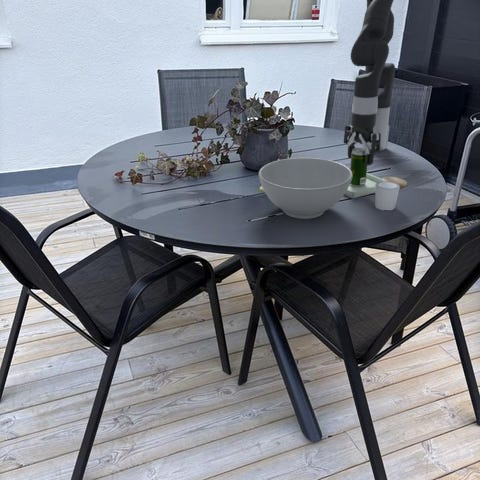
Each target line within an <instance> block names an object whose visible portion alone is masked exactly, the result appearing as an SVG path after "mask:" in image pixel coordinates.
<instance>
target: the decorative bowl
mask: <svg viewBox="0 0 480 480" xmlns="http://www.w3.org/2000/svg"><path fill="white" fill-rule="evenodd" d="M352 177H353V174H352V171H351V170H350V167H349V166H347V165H344V164H343V163H340V162H337V161H334V160H329V159H324V158H317V157H316V158H315V157H293V158H292V157H290V158H285V159H279V160H275V161H272V162H269V163H267V164H265V165H263V166H262V167H261V168H260V169H259V171H258V179H259V181H260V185H261V187H262V189H263V191H264V193H265V194H266V196H267V197H268V199H269V200H270V201H271V202H272V203H273V204H274V205H275V206H276V207H278V208H279V209H280V210H282V212H283V213H284V214H285V215H286V216H288V217H291V218H294V219H295V218H296V219H300V220H302V219H303V220H305V219H306V220H308V219H315V218H319V217H321V216H322V215H323V214H324V213H325V212H326V211H328V210H329V209H331V208H333V207H334V206H335V205H336V204H338V203H339V202H340V200H341V199H342V198H343V197H344V194H345V192H346V191H347V189H348V187H349V185H350V183H351V180H352Z"/></svg>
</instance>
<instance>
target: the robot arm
mask: <svg viewBox="0 0 480 480" xmlns="http://www.w3.org/2000/svg"><path fill="white" fill-rule="evenodd" d="M393 3H394V0H366V11H365V13H364V17H363V22H362V28H361V31H359V32H360V33H359V35H358V36H357V38H356V40H355V42H354V44H353V46H352V47H351V50H350V61H351V63H352V64H353V65H354V66H356V67H365V69H364V71H365V73H364V74H360V75H357V76H356V77H355V80H354V92H353V98H352V107H351V116H350V117H351V118H350V124H348V125H345V127H344V136H343V144H345V145H346V146H347V158H348V159H351V152H352V149H353V148H356V146H355V145H356V144H357V143H359V144H360V145H362V146H361V148H365V149H366V151H367V155H366V165H367V166H371V165H372V164H373V163H374V157H375V154H377V153H380V152H382V151H385V150H386V149H388V142H389V134H390V124H389V120H390V119H389V118H390V112H391V111H390V110H391V102H392V95H393V94H392V93H393V92H392V91H393V86H394V82H395V81H394V80H395V76H396V66H395V64H394V63H392V62H387V60H388V56H389V55H390V54H389V53H390V46H389V43H390V42H391V40H392V39H393V36H394V28H395V27H394V26H395V15H394V13H393V11H392V6H393ZM379 89H383V91H381V92H380V93H379Z"/></svg>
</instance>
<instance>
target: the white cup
mask: <svg viewBox="0 0 480 480" xmlns="http://www.w3.org/2000/svg"><path fill="white" fill-rule="evenodd" d="M400 189H401V188H400V186H399V185H398V184H397V183H394V182H388V181H383V182H378V183H376V192H375V193H374V194H375V200H374V201H375V202H374V204H375V205H374V207H375V208H376V209H377V210H380V211H384V210H390V211H393V210H395V208H396V204H397V199H398V196H399V191H400Z"/></svg>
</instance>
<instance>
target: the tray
mask: <svg viewBox="0 0 480 480" xmlns="http://www.w3.org/2000/svg"><path fill="white" fill-rule="evenodd" d="M383 181H386V180H383V179H382V178H380V177H378V176H376V175H374V174H371V173H368V172H367V175H366V183H365V185H364V186H363V187H352V186H351V185H349V187H348V189H347V191H346V192H345V194H344V195H345V196H346V197H348V198H351V199H352V200H353V199H357V198H361V197H364V196H367V195H370V194H375V193H376V183H378V182H383ZM344 195H343V196H344Z"/></svg>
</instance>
